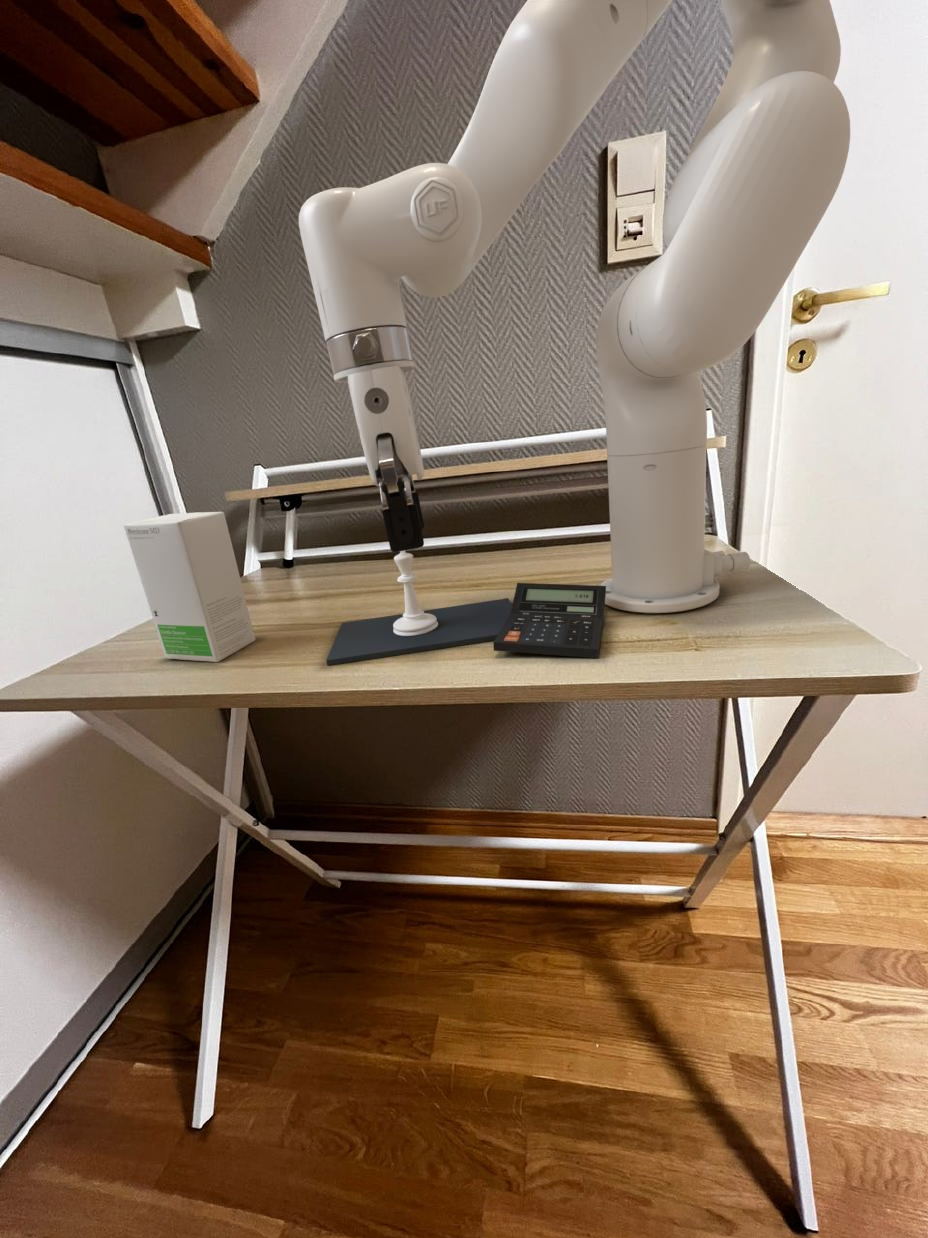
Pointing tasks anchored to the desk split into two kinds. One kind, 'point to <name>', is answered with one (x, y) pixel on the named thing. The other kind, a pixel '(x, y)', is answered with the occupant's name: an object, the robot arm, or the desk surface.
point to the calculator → (554, 620)
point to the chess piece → (411, 602)
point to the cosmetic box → (192, 584)
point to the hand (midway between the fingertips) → (409, 539)
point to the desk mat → (451, 631)
